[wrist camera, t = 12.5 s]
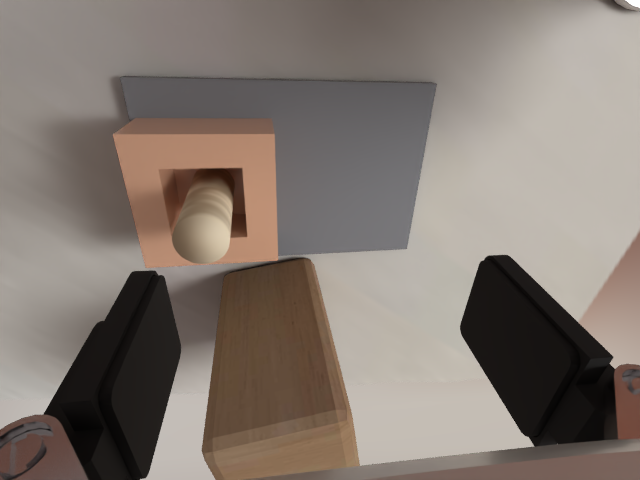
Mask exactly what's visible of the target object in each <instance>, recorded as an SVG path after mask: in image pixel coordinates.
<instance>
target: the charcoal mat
mask: <svg viewBox="0 0 640 480" xmlns="http://www.w3.org/2000/svg"><path fill="white" fill-rule="evenodd" d="M120 79H121V84H122V88H123V93H124V97H125V102H126V107H127V111H128V116H129V120H130V122H131V121H132V120H133V119H135V118H272V122H273V128H274V133H275V162H276V198H277V234H278V256H284V255H303V254H321V253H340V252H359V251H377V250H396V249H407V245H408V239H409V234H410V228H411V223H412V217H413V212H414V206H415V201H416V195H417V190H418V184H419V179H420V173H421V168H422V162H423V157H424V151H425V145H426V140H427V134H428V129H429V123H430V118H431V112H432V107H433V101H434V96H435V90H436V85H437V84H435V83H432V82H384V81H335V80H286V79H237V78H188V77H139V76H123V77H120Z"/></svg>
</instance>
